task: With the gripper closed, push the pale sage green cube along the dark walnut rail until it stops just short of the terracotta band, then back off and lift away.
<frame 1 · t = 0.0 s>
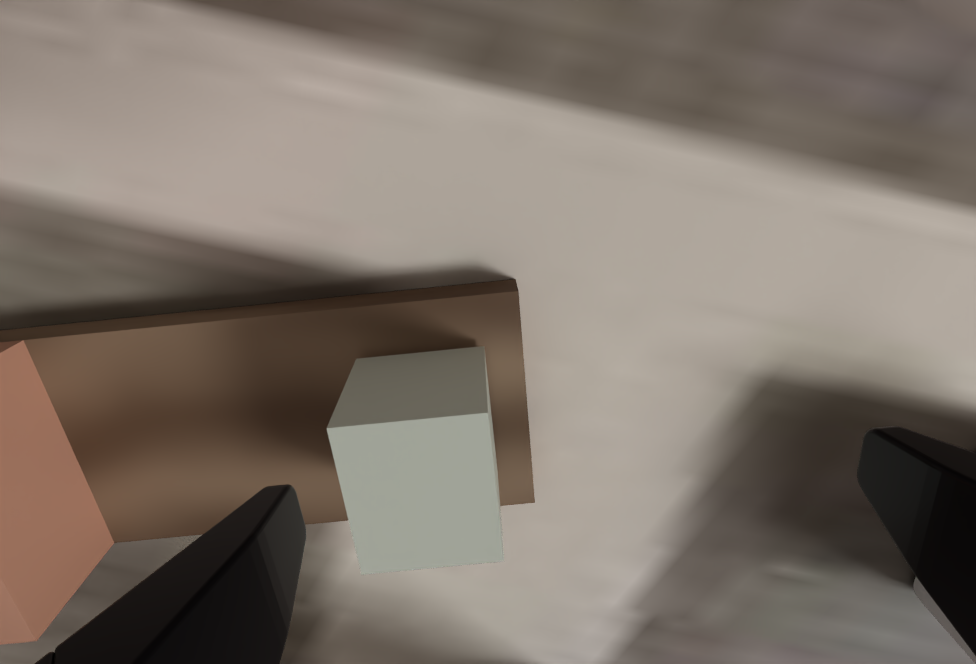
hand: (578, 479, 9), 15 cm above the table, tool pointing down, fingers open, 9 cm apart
guide rail: (274, 412, 25), on the table
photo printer: (970, 517, 29), on the table
pale sage green cube: (426, 454, 21), point 4 cm above the table, slide at 0.0 cm
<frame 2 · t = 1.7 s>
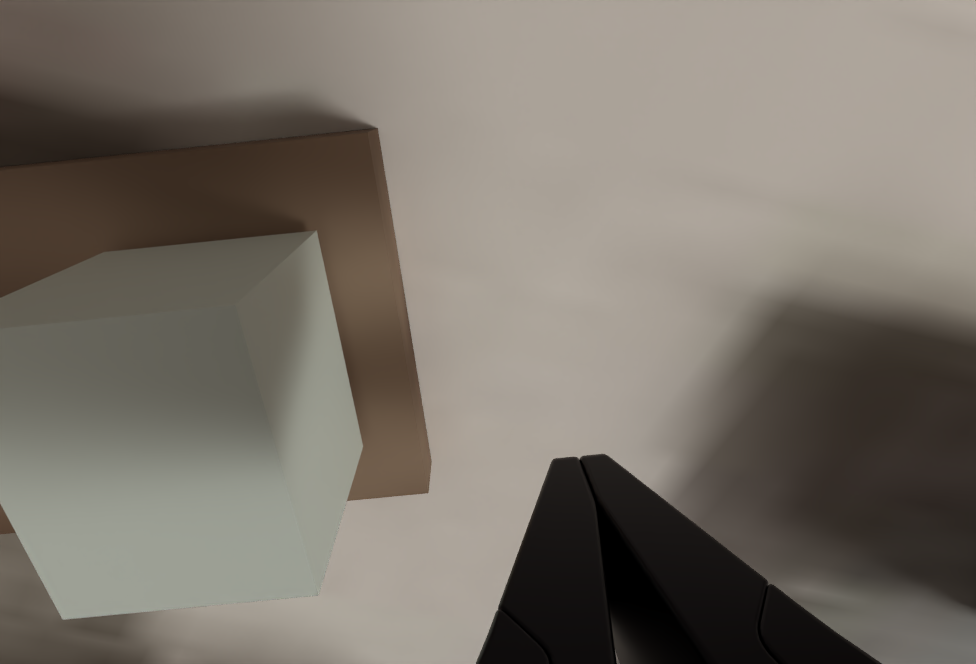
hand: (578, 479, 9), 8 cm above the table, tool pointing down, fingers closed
guide rail: (22, 353, 16), on the table
pale sage green cube: (201, 407, 12), point 4 cm above the table, slide at 0.0 cm
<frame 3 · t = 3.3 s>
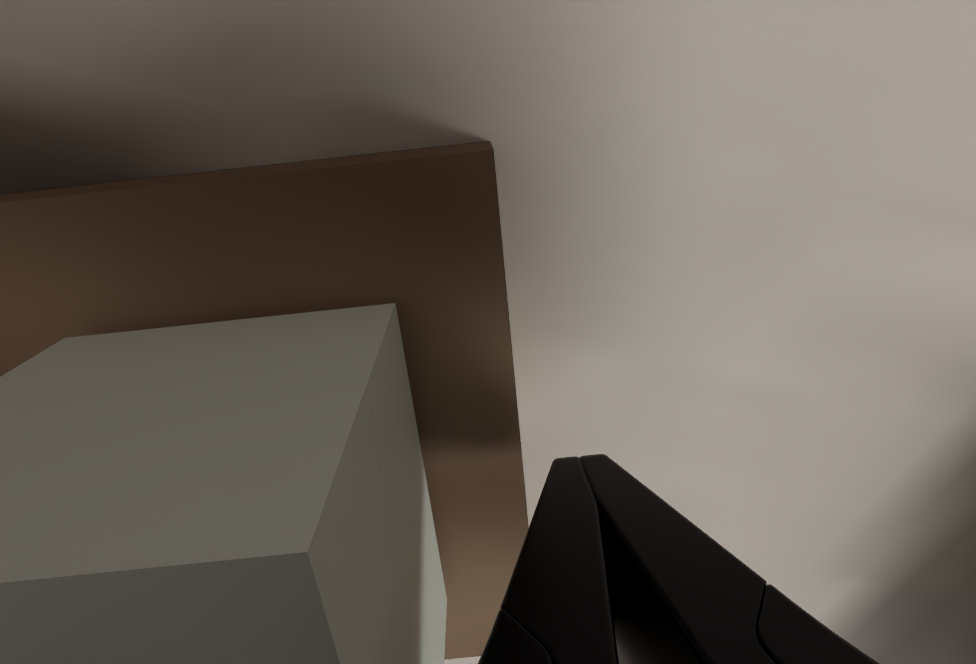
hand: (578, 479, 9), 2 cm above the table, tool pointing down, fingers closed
pale sage green cube: (218, 605, 7), point 4 cm above the table, slide at 0.2 cm, touching gripper
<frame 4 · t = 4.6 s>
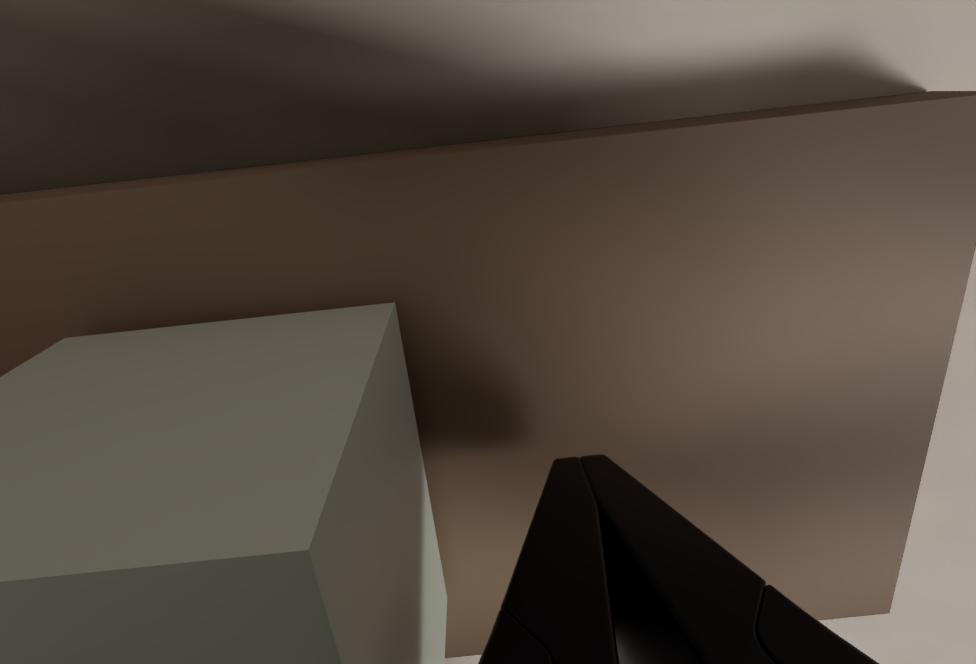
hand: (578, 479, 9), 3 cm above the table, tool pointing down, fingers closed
guide rail: (327, 423, 11), on the table
pale sage green cube: (219, 604, 7), point 4 cm above the table, slide at 7.4 cm, touching gripper
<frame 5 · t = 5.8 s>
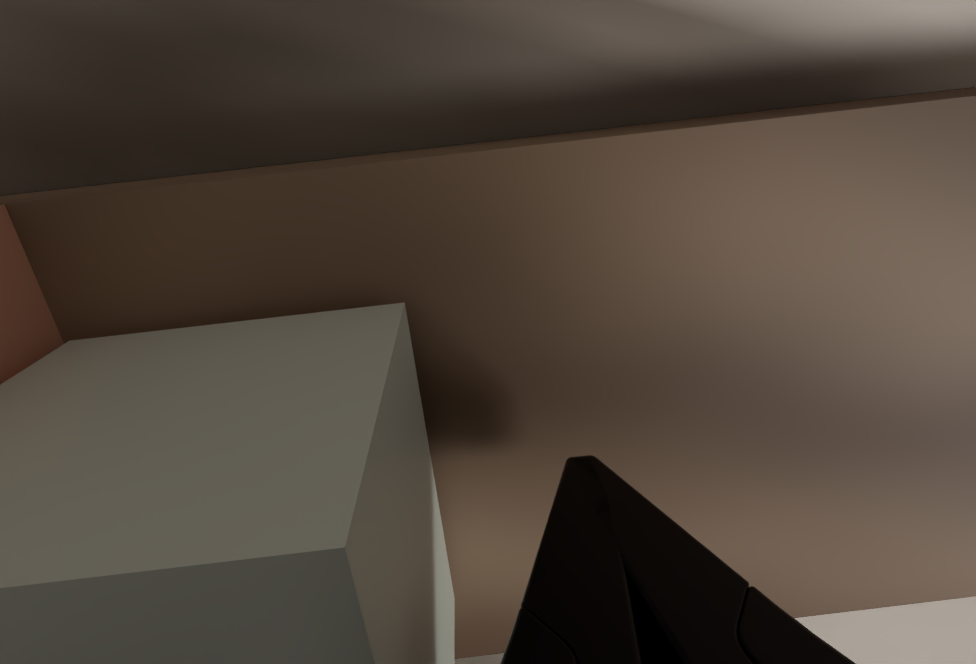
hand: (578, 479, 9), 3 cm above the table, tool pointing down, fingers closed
guide rail: (569, 397, 11), on the table
pale sage green cube: (232, 607, 7), point 4 cm above the table, slide at 12.2 cm, touching gripper
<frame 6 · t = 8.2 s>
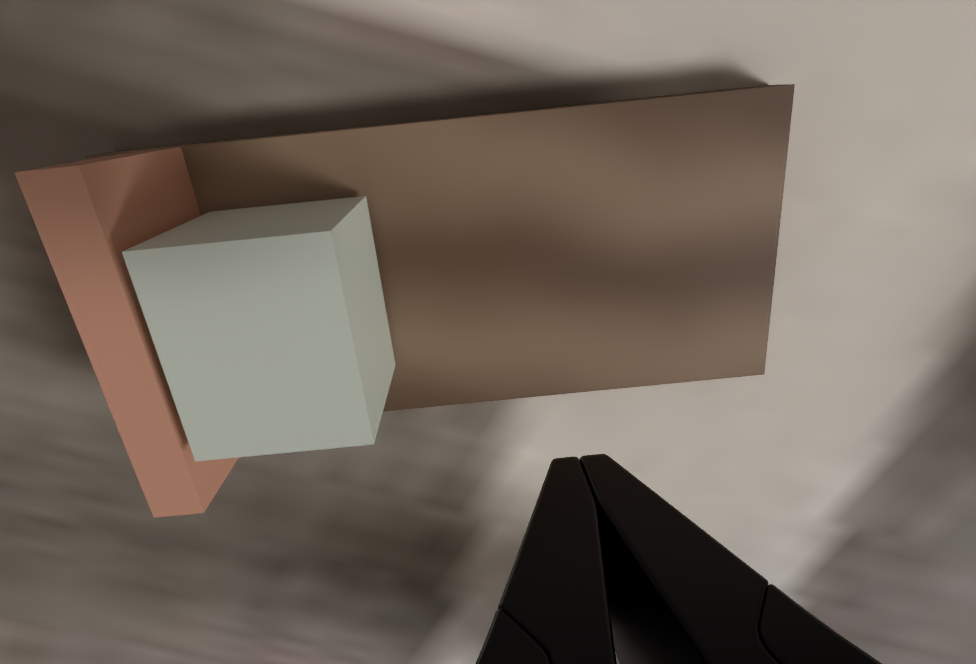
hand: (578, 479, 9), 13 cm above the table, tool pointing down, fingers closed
guide rail: (457, 263, 21), on the table
pale sage green cube: (286, 319, 17), point 4 cm above the table, slide at 12.0 cm
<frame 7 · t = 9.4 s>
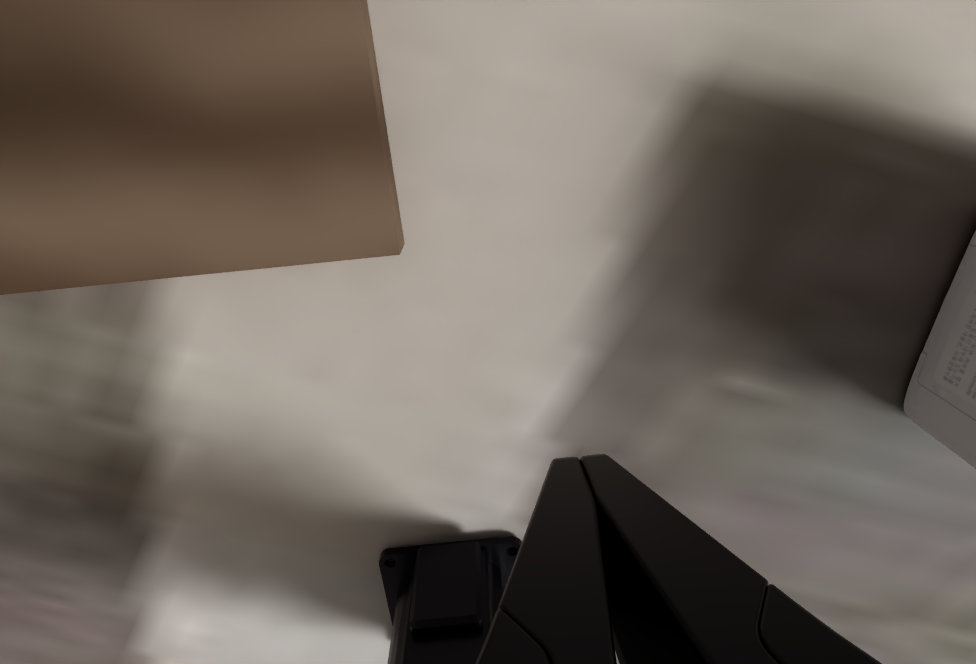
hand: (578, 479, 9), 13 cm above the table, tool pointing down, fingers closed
guide rail: (49, 128, 19), on the table
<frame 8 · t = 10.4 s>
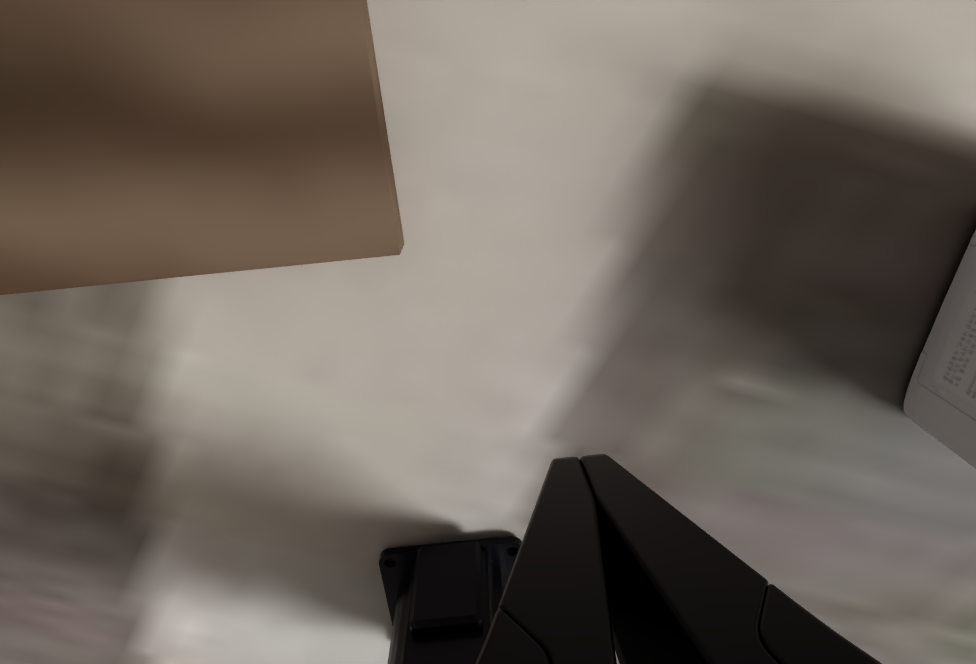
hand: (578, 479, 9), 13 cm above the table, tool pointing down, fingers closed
guide rail: (49, 129, 19), on the table
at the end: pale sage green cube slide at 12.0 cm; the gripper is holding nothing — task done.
